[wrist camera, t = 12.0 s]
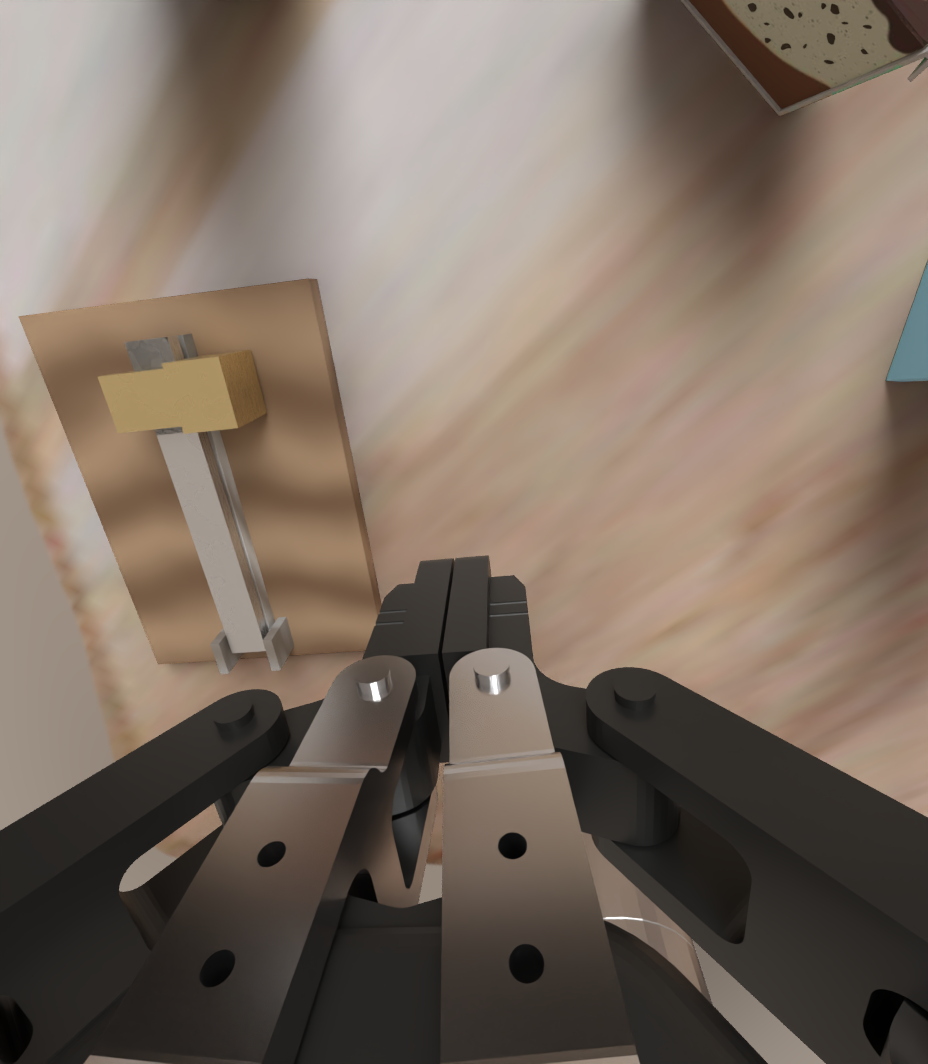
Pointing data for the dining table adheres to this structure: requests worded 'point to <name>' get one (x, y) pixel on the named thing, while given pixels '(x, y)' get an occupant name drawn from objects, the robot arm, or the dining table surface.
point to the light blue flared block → (913, 341)
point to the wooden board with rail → (224, 471)
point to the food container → (815, 43)
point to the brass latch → (187, 394)
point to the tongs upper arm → (207, 513)
